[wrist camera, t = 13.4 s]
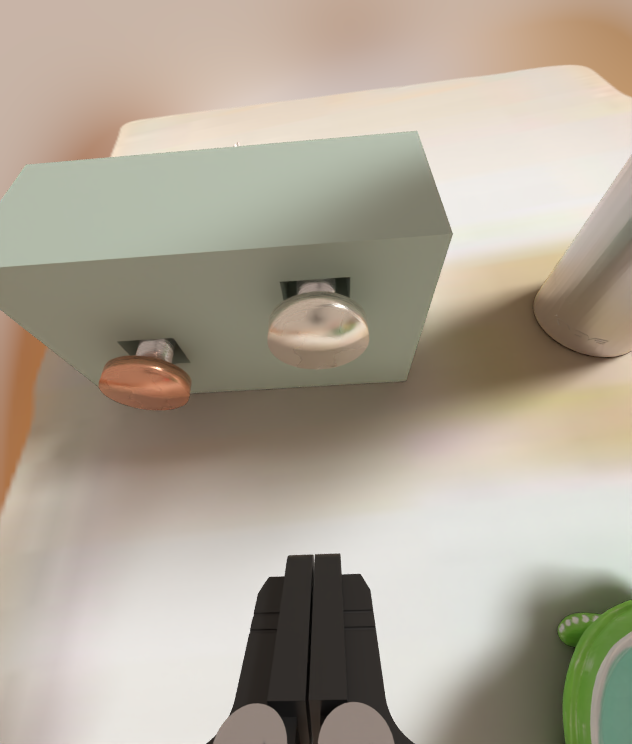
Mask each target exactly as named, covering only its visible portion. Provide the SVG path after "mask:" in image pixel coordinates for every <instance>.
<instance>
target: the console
mask: <svg viewBox="0 0 632 744" xmlns="http://www.w3.org/2000/svg"><path fill="white" fill-rule="evenodd" d="M452 235H453V233H452V230H451V227H450V224H449V222H448V219H447V216H446V213H445V210H444V207H443V204H442V201H441V198H440V195H439V193H438V190H437V187H436V184H435V181H434V178H433V175H432V172H431V169H430V167H429V164H428V161H427V158H426V155H425V152H424V149H423V146H422V143H421V141H420V138H419V135H418V132H417V131H410V132H399V133H387V134H376V135H364V136H352V137H341V138H329V139H318V140H306V141H295V142H283V143H272V144H260V145H248V146H237V147H225V148H214V149H202V150H191V151H179V152H167V153H156V154H144V155H133V156H121V157H110V158H98V159H88V160H87V159H86V160H76V161H64V162H52V163H40V164H29V165H25V167H24V168H23V170H22V171H21V172H20V174H19V175H18V177H17V178H16V180H15V181H14V182H13V184H12V185H11V187H10V188H9V190H8V191H7V192H6V194H5V195H4V197H3V198H2V199H1V201H0V310H1V311H3V312H4V313H5V314H6V315H8V316H9V317H10V318H12V319H13V320H14V321H15V322H17V323H18V324H19V325H20V326H22V327H23V328H24V329H25V330H27V331H28V332H29V333H31V334H32V335H33V336H34V337H36V338H37V339H38V340H40V341H41V342H42V343H43V344H45V345H46V346H47V347H48V348H50V349H51V350H52V351H53V352H55V353H56V354H57V355H59V356H60V357H61V358H62V359H64V360H65V361H66V362H67V363H69V364H70V365H71V366H72V367H74V368H75V369H76V370H78V371H79V372H80V373H81V374H83V375H84V376H85V377H86V378H88V379H89V380H90V381H92V382H93V383H94V384H95V385H97V386H98V385H99V380H100V377H101V374H102V371H103V368H104V366H105V364H106V363H107V362H108V361H109V360H111V359H113V358H117V357H121V356H133V355H135V356H136V352H137V348H138V345H139V341H140V340H148V339H164V338H174V339H175V341H176V345H175V350H174V354H173V359H172V364H174V365H176V366H178V367H180V368H181V369H183V370H184V371H185V372H186V373H187V374H188V375H189V376H190V378H191V381H192V384H191V390H190V393H206V392H224V391H242V390H259V389H277V388H295V387H312V386H330V385H348V384H365V383H383V382H401V381H406V379H407V376H408V373H409V370H410V367H411V364H412V361H413V357H414V354H415V351H416V348H417V345H418V342H419V338H420V335H421V332H422V329H423V326H424V323H425V320H426V316H427V313H428V310H429V307H430V304H431V301H432V298H433V294H434V291H435V288H436V285H437V282H438V279H439V276H440V272H441V269H442V266H443V263H444V260H445V257H446V254H447V250H448V247H449V244H450V241H451V238H452ZM327 278H335V283H336V293H338V294H341V295H344V296H347V297H349V298H351V299H352V300H354V301H355V302H357V303H358V304H359V305H360V306H361V307H362V308H363V310H364V311H365V314H366V317H367V323H368V331H369V343H368V346H367V348H366V349H365V351H364V352H363V353H362V354H361V355H360V356H359V357H358V358H356V359H355V360H353V361H351V362H349V363H347V364H344V365H341V366H338V367H334V368H328V369H303V368H298V367H294V366H291V365H288V364H286V363H284V362H282V361H280V360H279V359H278V358H276V357H275V356H274V355H273V354H272V353H271V351H270V349H269V347H268V343H267V338H268V320H269V317H270V314H271V312H272V311H273V310H274V308H275V307H276V306H277V305H278V304H280V303H281V302H282V301H284V300H286V299H287V298H290V297H292V296H295V295H297V281H298V280H313V279H327ZM98 387H99V386H98Z"/></svg>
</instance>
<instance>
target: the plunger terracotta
mask: <svg viewBox="0 0 632 744" xmlns="http://www.w3.org/2000/svg"><path fill="white" fill-rule="evenodd" d="M175 345H176V341H175V339H174V338H164V339H148V340H140V341H139V345H138V348H137V352H136V356H135V355H133V356H121V357H117V358H113V359H111V360H109V361H108V362H107V363H106V364H105V366H104V368H103V371H102V374H101V377H100V380H99V385H98V386H99V389H100V390H101V392H102V393H103V394H104V395H106V396H107V397H108V398H110V399H112V400H114V401H116V402H118V403H121V404H124V405H127V406H130V407H134V408H139V409H146V410H170V409H176V408H179V407H181V406H183V405H185V404H186V403H187V402H188V400H189V396H190V390H191V384H192V381H191V378H190V376H189V375H188V374H187V373H186V372H185V371H184V370H183V369H181V368H180V367H178V366H176V365H174V364H172V359H173V354H174V350H175Z"/></svg>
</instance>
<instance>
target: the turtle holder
mask: <svg viewBox="0 0 632 744" xmlns="http://www.w3.org/2000/svg"><path fill="white" fill-rule="evenodd" d="M558 636H559V638H560V639H561V640H562V641H563V642H564V643H565V644H566V645H568V646H573V647H576V648H575V651H574V653H573V655H572V658H571V661H570V664H569V668H568V671H567V675H566V680H565V685H564V691H563V705H562V709H563V727H564V737H565V744H632V600H629V601H626V602H623V603H621V604H619V605H617V606H614V607H612V608H610V609H608V610H607V611H606V612H604V613H603V614H596V613H573V614H571V615H569V616H567V617H565V618H564V619H563V620H562V621H561V622H560V624H559V626H558Z"/></svg>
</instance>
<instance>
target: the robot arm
mask: <svg viewBox="0 0 632 744" xmlns="http://www.w3.org/2000/svg"><path fill="white" fill-rule="evenodd" d="M533 309H534V313H535V317H536V319H537V321H538V323H539V324H540V326H541V327H542V328H543V329H544V331H545V332H546V333H547V334H548V335H550V336H551V337H552V338H553V339H554V340H556V341H557V342H559V343H560V344H562V345H563V346H565V347H567V348H570V349H572V350H574V351H576V352H579V353H583V354H586V355H591V356H598V357H615V356H620V355H624V354H627V353H629V352H631V351H632V155H631V156H630V158H629V159H628V161H627V162H626V164H625V165H624V167H623V168H622V170H621V171H620V173H619V174H618V176H617V177H616V178H615V180H614V181H613V183H612V184H611V186H610V187H609V189H608V190H607V192H606V193H605V195H604V196H603V198H602V199H601V200H600V202H599V203H598V205H597V206H596V208H595V209H594V211H593V212H592V214H591V215H590V217H589V218H588V220H587V221H586V223H585V224H584V225H583V227H582V228H581V230H580V231H579V233H578V234H577V236H576V237H575V239H574V240H573V242H572V243H571V245H570V246H569V247H568V249H567V250H566V252H565V253H564V255H563V256H562V258H561V259H560V261H559V262H558V263H557V265H556V266H555V268H554V269H553V271H552V272H551V274H550V275H549V277H548V278H547V279H546V281H545V282H544V284H543V285H542V287H541V288H540V290H539V291H538V293H537V294H536V297H535V299H534V306H533ZM207 744H414V743H413V742H412V741H410V740H409V739H408V738H407V737H406V736H405V735H404V734H403V733H402V732H401V731H400V729H399V728H398V727H397V725H396V724H395V722H394V721H393V719H392V717H391V715H390V712H389V709H388V707H387V703H386V698H385V691H384V684H383V677H382V670H381V663H380V656H379V648H378V641H377V634H376V628H375V620H374V613H373V606H372V599H371V591H370V589H369V587H368V585H367V584H366V582H365V581H364V579H363V577H362V576H361V574H344V575H342V573H341V557H340V554H315V563H314V555H288V558H287V563H286V571H285V577H269V578H268V579H267V581H266V582H265V584H264V585H263V587H262V588H261V590H260V591H259V593H258V596H257V601H256V606H255V610H254V617H253V619H252V624H251V628H250V634H249V638H248V642H247V647H246V651H245V656H244V660H243V665H242V670H241V674H240V679H239V683H238V688H237V692H236V697H235V701H234V705H233V708H232V710H231V713H230V715H229V717H228V718H227V719H226V720H225V722H224V723H223V724H222V726H221V727H220V729H219V731H218V733H217V734H216V735H215V737H214V738H212V739H211V740H210V741H209V742H208V743H207Z"/></svg>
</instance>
